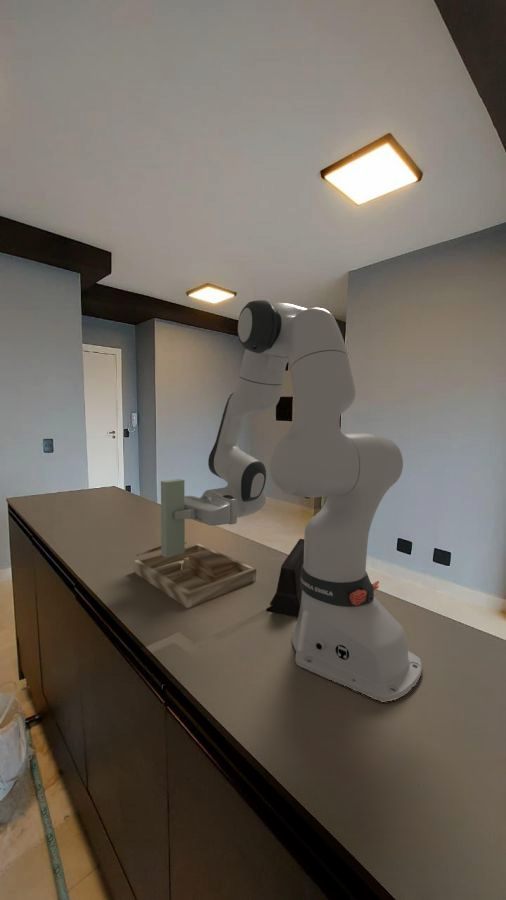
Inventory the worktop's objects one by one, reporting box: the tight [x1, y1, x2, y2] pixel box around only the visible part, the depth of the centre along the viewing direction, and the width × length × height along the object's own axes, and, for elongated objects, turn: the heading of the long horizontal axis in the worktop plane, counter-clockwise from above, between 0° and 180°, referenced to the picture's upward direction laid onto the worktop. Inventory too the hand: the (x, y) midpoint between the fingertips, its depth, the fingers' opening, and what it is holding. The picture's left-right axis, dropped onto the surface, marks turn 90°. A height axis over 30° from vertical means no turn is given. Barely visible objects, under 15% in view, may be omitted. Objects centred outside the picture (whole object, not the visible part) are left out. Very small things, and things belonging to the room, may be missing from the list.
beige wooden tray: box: [133, 543, 257, 609], centre depth 93 cm, size 24×20×4 cm
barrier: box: [265, 538, 304, 618], centre depth 90 cm, size 24×9×10 cm, turn 161°
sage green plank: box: [160, 478, 186, 558], centre depth 90 cm, size 2×5×18 cm, turn 134°
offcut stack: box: [182, 550, 237, 583], centre depth 95 cm, size 14×7×4 cm, turn 44°
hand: (169, 514), depth 89 cm, fingers closed on sage green plank, 2 cm apart
